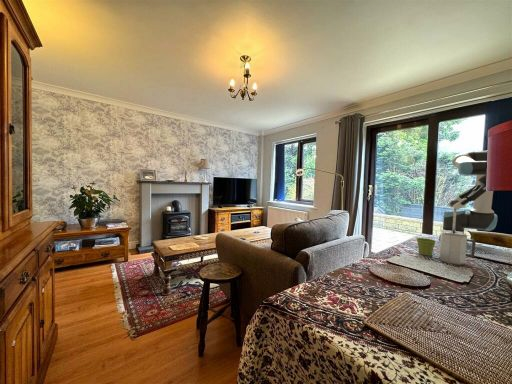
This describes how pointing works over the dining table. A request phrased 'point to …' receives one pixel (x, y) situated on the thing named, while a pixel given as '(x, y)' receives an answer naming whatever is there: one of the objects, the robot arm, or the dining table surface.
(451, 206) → the plunger
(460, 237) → the press carafe
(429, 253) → the plant pot
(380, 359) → the dining table surface
